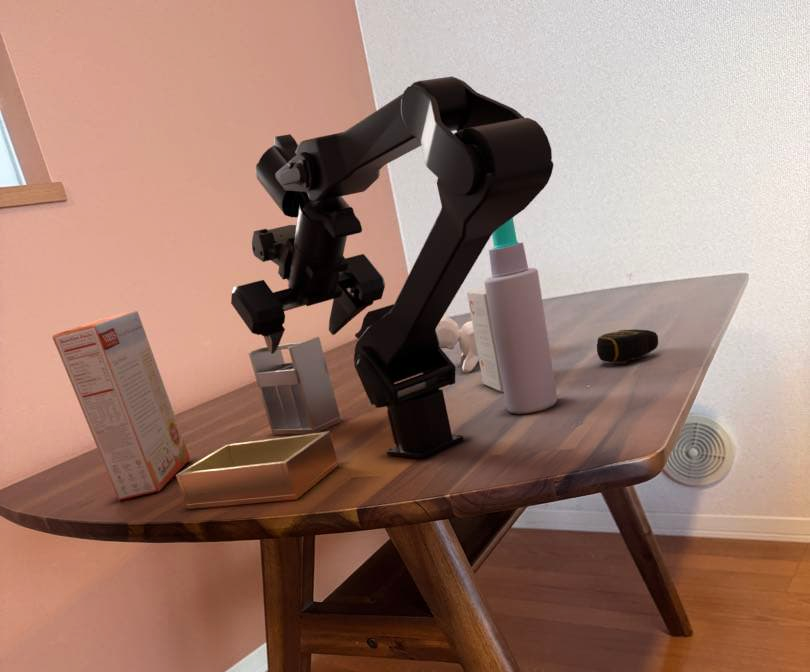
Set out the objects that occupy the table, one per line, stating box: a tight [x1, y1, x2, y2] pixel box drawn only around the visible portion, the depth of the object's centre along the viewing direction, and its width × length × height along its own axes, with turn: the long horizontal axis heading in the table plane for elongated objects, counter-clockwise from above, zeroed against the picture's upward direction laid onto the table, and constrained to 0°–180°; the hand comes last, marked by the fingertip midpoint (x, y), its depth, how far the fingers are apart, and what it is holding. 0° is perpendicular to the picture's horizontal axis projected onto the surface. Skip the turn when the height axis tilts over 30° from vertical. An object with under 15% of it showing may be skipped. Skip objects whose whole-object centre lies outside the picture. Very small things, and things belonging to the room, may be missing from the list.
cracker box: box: [52, 310, 191, 501], centre depth 98 cm, size 14×6×21 cm, turn 178°
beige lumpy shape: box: [436, 315, 479, 374], centre depth 123 cm, size 9×8×15 cm
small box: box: [466, 286, 504, 393], centre depth 105 cm, size 8×6×13 cm
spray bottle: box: [483, 217, 558, 415], centre depth 88 cm, size 6×6×22 cm
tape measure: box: [596, 329, 659, 365], centre depth 103 cm, size 7×7×4 cm
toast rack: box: [248, 336, 342, 436], centre depth 108 cm, size 9×5×12 cm, turn 51°
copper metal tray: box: [175, 430, 339, 510], centre depth 86 cm, size 14×10×4 cm
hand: (301, 341), depth 101 cm, fingers open, 9 cm apart
